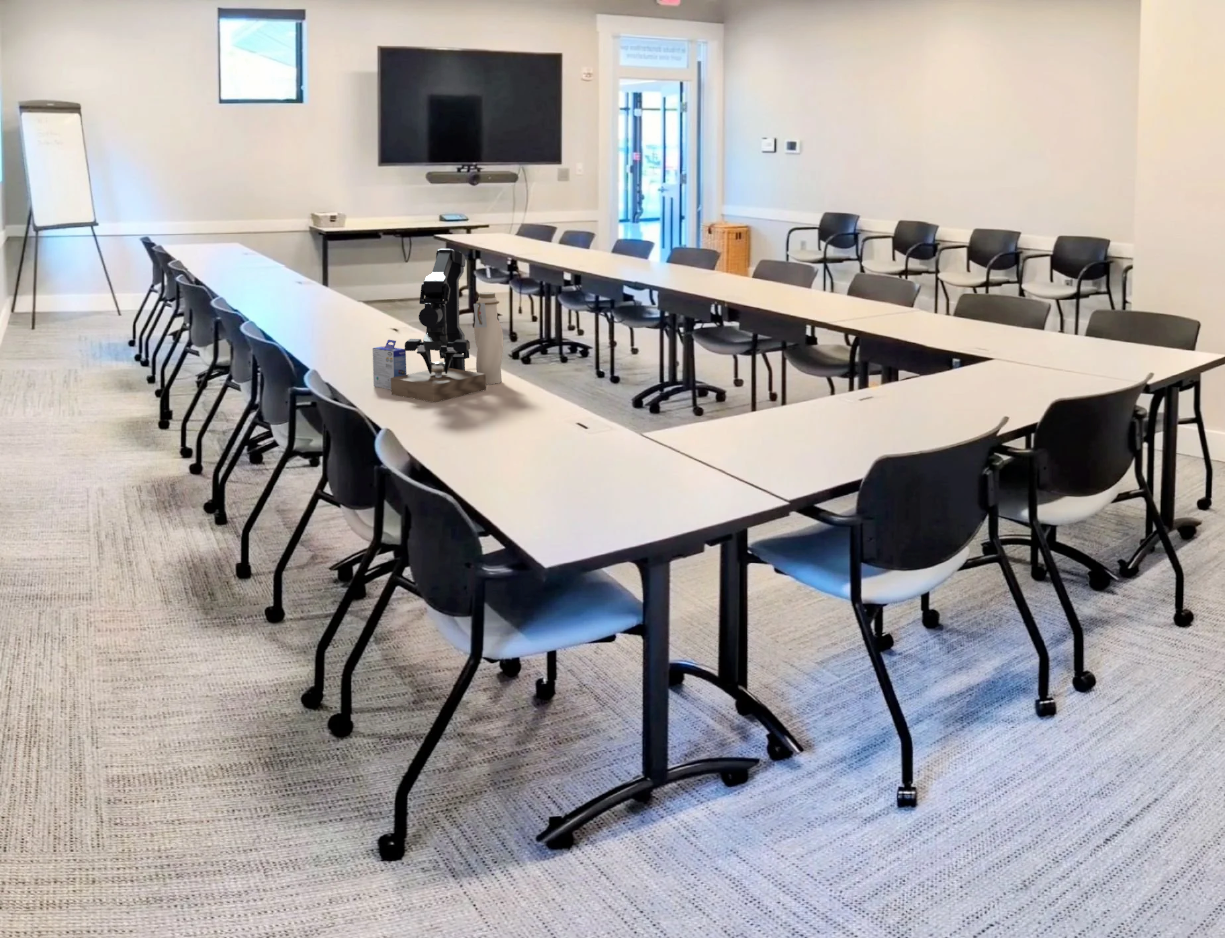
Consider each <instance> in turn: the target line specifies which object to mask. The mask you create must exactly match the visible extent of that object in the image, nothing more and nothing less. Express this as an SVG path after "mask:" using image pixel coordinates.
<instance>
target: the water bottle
mask: <svg viewBox="0 0 1225 938" xmlns="http://www.w3.org/2000/svg"><path fill="white" fill-rule="evenodd" d="M478 294H479V296H478V298H477V299H478V300H477V301H476V302H475V303H473V310H474V325H473V330H474V331H473V332H474V333H473V334H474V340H475V345H476V348H477V349H476V360H475V361H476V362H475V363H476V364H475V368H476V372H477V373H483V374H486V385H496V384H495V383H498V384H500V383H499V382H501V383H502V381H503V380H502V368H501V367H502V360H503V356H504V355H503V353H504V332H503V327H502V325H501V322H500V321H499V320H498V308H497V306H498V304H500V301H499V300H497V297H496V292H493V291H490V292H489V291H484V292H482V291H481V292H479V293H478Z"/></svg>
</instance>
